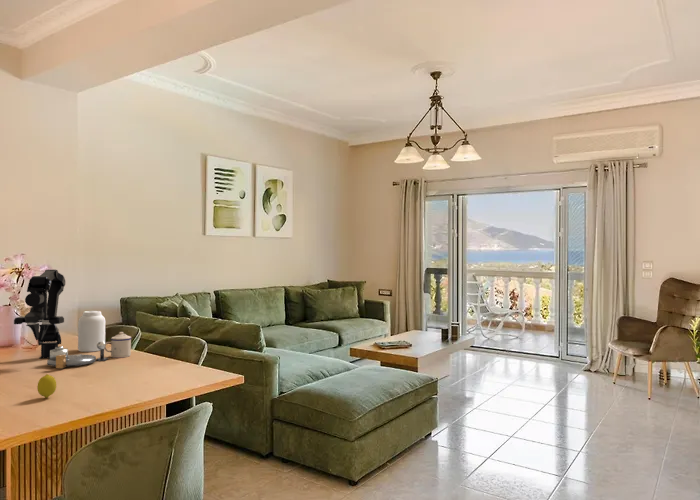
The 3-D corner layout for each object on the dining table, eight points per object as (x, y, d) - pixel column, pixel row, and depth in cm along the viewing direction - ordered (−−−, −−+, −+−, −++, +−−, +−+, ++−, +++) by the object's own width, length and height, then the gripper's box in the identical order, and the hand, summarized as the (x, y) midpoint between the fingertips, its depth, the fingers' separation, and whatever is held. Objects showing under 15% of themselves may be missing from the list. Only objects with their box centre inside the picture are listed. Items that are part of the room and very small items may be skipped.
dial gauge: (95, 361, 235) (96, 341, 235) (99, 359, 239) (99, 340, 239) (105, 361, 235) (105, 341, 235) (108, 359, 239) (108, 340, 239)
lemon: (42, 395, 176) (42, 372, 176) (59, 395, 176) (59, 372, 176) (33, 400, 170) (34, 376, 170) (51, 400, 171) (51, 376, 171)
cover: (46, 360, 224) (47, 348, 224) (54, 357, 230) (54, 345, 231) (63, 360, 224) (64, 348, 224) (70, 357, 231) (70, 345, 231)
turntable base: (51, 367, 221) (51, 365, 221) (63, 361, 233) (63, 360, 233) (80, 366, 223) (80, 365, 223) (91, 361, 235) (91, 359, 235)
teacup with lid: (130, 353, 253) (130, 330, 253) (131, 357, 245) (132, 332, 245) (103, 355, 248) (103, 331, 248) (104, 359, 240) (104, 334, 240)
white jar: (110, 348, 268) (111, 310, 268) (93, 352, 256) (93, 312, 256) (89, 347, 271) (90, 309, 271) (72, 351, 258) (72, 311, 259)
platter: (35, 368, 215) (35, 356, 215) (59, 358, 236) (59, 347, 236) (83, 367, 217) (83, 355, 217) (102, 357, 238) (102, 346, 239)
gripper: (7, 306, 218) (6, 343, 217) (53, 306, 220) (52, 342, 220) (20, 304, 229) (20, 339, 229) (64, 303, 231) (64, 338, 231)
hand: (39, 339), depth 227 cm, fingers closed
